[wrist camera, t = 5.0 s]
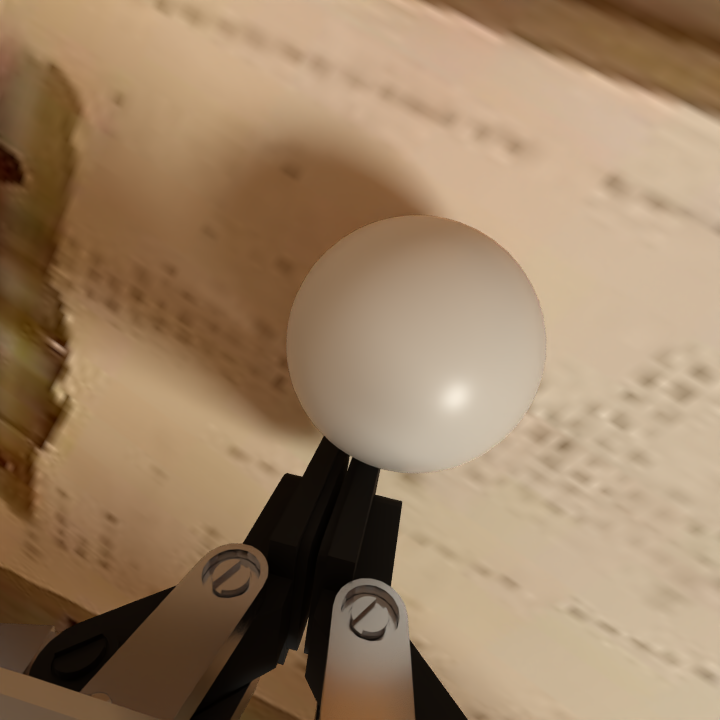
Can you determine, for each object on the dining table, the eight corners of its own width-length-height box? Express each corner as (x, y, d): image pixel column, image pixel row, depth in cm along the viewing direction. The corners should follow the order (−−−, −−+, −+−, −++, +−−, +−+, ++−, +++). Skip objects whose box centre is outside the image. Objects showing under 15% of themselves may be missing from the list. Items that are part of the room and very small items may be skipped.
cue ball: (509, 570, 7) (655, 279, 5) (231, 486, 8) (250, 191, 6) (485, 416, 12) (554, 233, 10) (314, 371, 13) (342, 188, 11)
